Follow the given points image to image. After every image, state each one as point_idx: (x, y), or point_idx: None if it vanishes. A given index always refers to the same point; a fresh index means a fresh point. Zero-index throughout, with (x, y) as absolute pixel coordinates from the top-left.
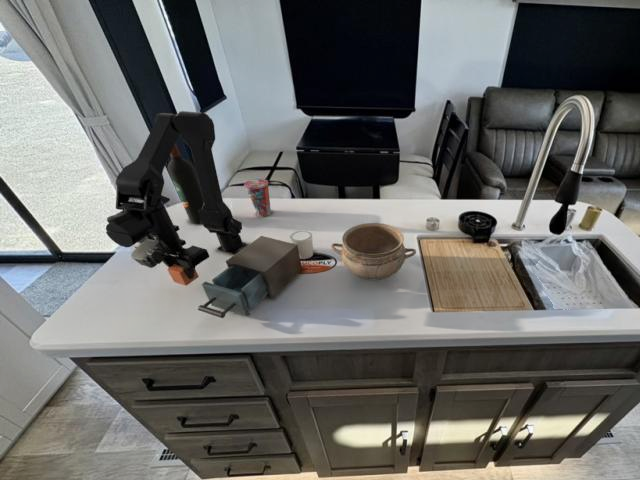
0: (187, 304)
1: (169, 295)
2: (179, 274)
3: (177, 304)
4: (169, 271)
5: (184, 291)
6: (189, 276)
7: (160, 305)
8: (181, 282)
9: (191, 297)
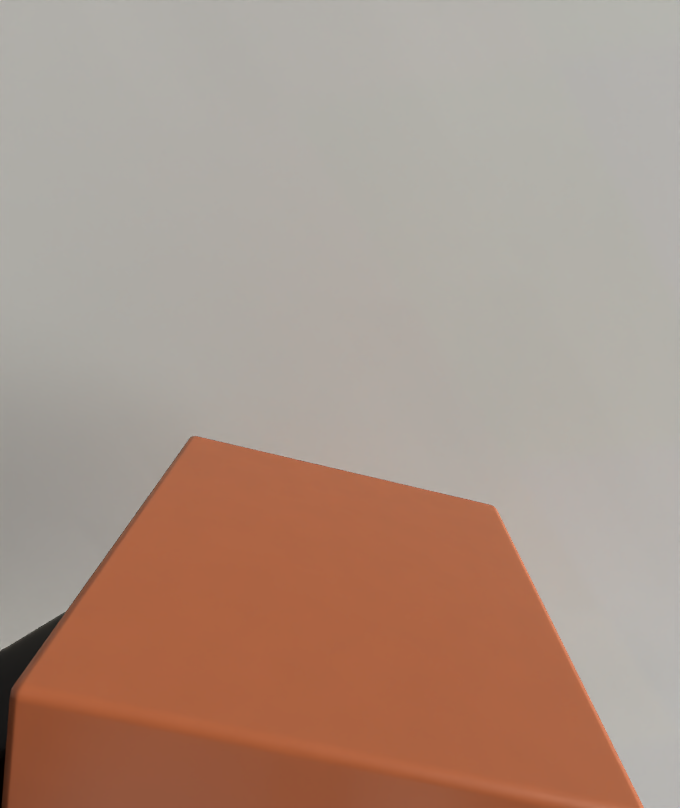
0: (102, 125)
1: (517, 293)
2: (102, 632)
3: (259, 97)
4: (550, 722)
5: (349, 411)
6: (44, 632)
7: (526, 19)
8: (274, 479)
9: (159, 300)
